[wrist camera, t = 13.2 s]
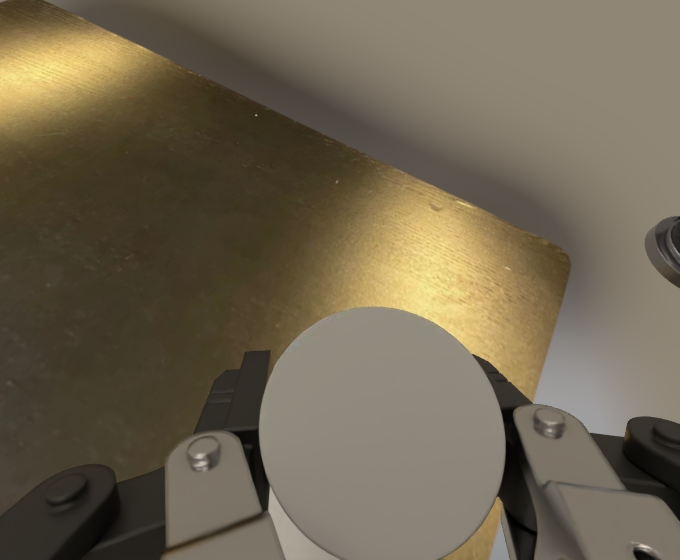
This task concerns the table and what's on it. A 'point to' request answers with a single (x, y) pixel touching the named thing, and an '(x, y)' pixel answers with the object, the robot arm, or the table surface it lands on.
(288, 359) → the container
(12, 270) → the table surface
